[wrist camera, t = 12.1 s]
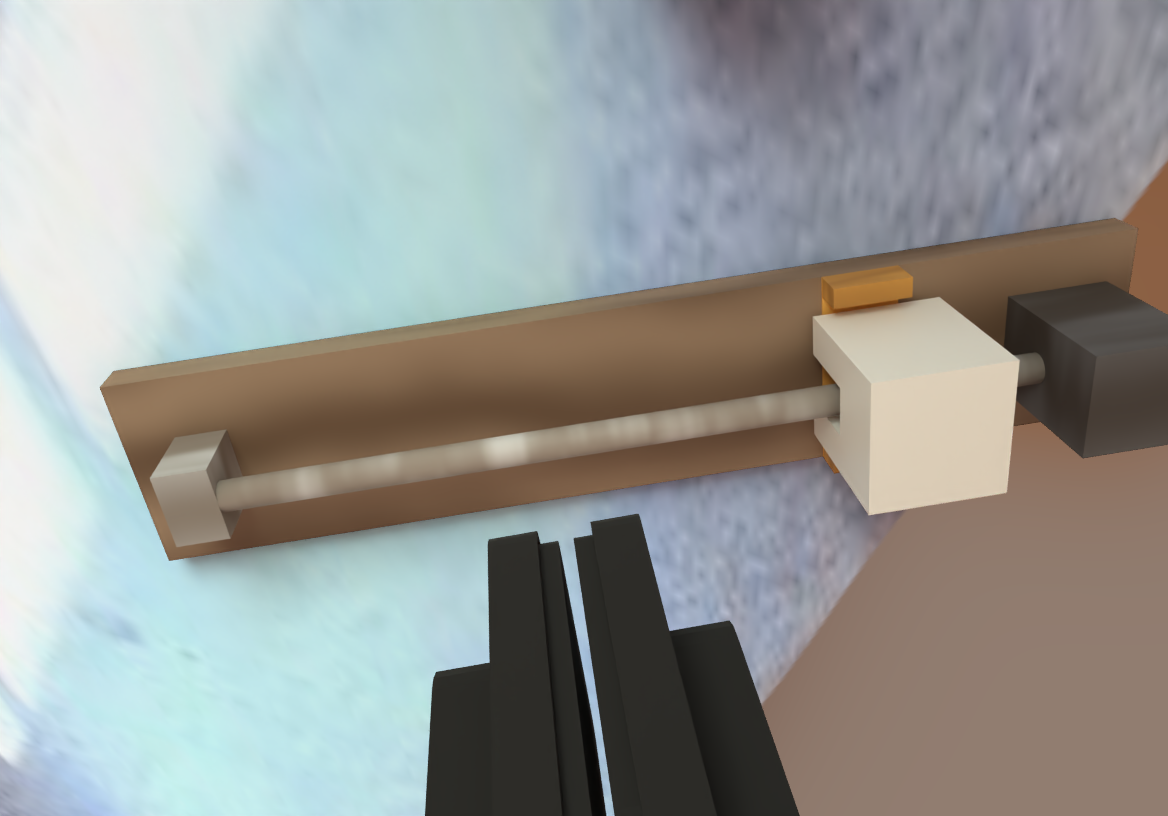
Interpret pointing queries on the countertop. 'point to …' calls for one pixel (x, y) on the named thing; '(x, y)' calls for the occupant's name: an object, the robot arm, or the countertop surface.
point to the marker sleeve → (916, 404)
